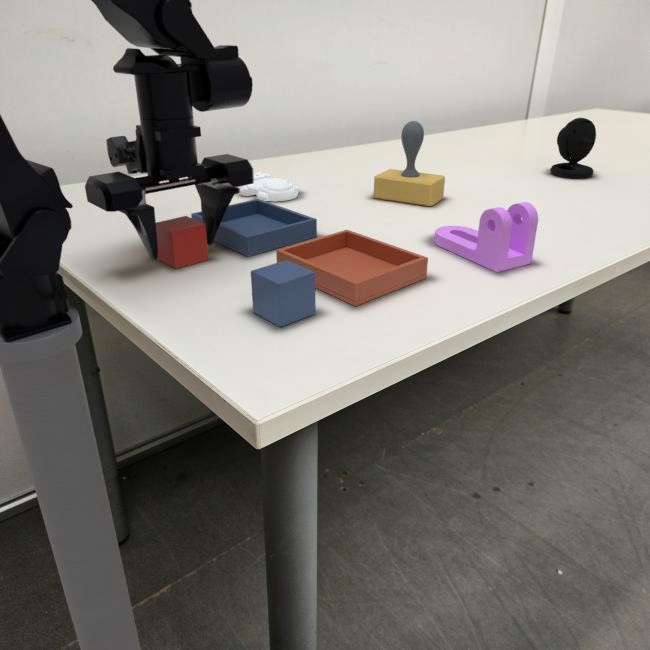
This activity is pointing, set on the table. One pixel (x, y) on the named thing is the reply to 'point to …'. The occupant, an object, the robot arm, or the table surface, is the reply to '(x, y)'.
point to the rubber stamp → (410, 175)
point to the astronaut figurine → (270, 188)
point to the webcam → (575, 148)
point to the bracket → (495, 237)
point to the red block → (181, 241)
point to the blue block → (283, 292)
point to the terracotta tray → (356, 265)
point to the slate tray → (261, 227)
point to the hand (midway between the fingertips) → (182, 251)
